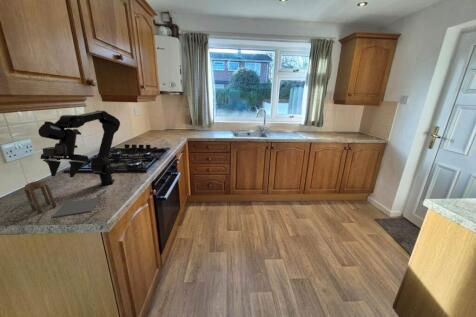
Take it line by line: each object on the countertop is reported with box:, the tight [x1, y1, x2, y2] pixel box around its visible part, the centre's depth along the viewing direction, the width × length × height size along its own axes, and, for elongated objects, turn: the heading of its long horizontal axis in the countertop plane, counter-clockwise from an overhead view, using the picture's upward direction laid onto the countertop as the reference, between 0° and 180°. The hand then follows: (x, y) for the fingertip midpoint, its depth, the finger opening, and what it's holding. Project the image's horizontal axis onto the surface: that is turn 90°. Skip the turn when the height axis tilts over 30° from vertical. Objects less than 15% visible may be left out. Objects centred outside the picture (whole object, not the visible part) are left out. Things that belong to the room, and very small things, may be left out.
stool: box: [23, 179, 57, 215], centre depth 90 cm, size 6×6×12 cm
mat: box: [52, 197, 100, 218], centre depth 93 cm, size 12×14×1 cm
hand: (62, 176), depth 90 cm, fingers open, 9 cm apart
